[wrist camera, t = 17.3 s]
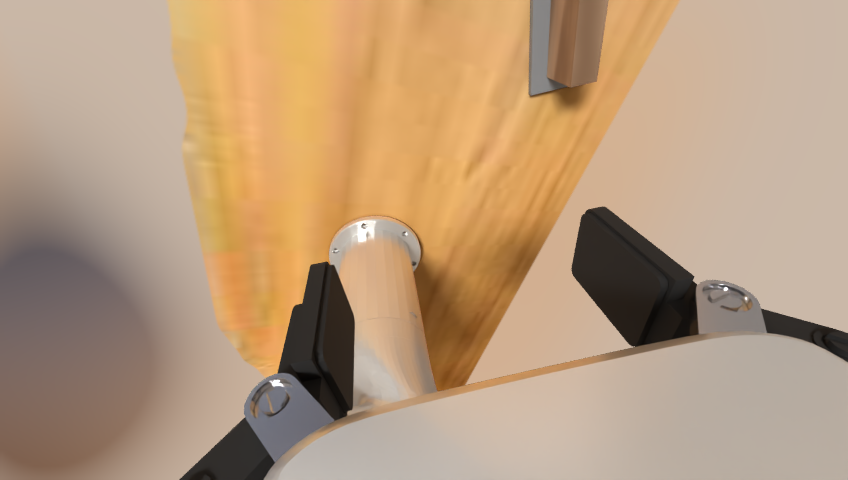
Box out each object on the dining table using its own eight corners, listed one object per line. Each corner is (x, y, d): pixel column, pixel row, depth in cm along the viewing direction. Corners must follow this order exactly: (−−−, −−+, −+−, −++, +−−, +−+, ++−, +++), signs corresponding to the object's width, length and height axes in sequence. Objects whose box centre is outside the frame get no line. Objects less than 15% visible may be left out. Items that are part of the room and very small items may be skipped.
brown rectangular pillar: (581, -55, 28) (617, -63, 24) (569, 71, 34) (596, 81, 30) (553, -48, 28) (584, -56, 24) (546, 77, 34) (570, 87, 30)
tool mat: (581, 81, 35) (584, 82, 35) (528, 94, 35) (530, 95, 35) (600, -83, 27) (604, -84, 27) (531, -66, 27) (534, -67, 27)
